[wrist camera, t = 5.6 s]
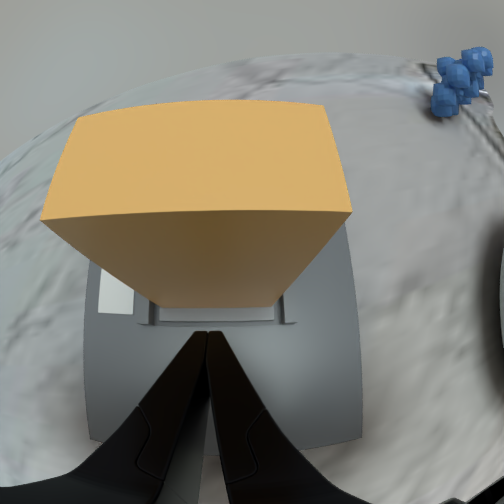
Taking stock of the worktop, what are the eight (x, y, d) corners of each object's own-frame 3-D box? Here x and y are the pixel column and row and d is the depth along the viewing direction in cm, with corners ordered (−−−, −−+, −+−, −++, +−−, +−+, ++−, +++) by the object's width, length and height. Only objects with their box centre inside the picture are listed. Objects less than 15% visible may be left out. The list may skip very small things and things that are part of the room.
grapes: (435, 87, 27) (469, 30, 16) (468, 120, 25) (509, 66, 14) (396, 94, 24) (436, 16, 13) (438, 135, 22) (492, 60, 11)
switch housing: (344, 427, 13) (370, 442, 10) (108, 428, 12) (81, 443, 9) (316, 162, 19) (329, 129, 16) (126, 164, 18) (112, 133, 15)
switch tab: (273, 320, 12) (365, 249, 4) (161, 321, 12) (28, 254, 3) (269, 246, 14) (322, 89, 5) (164, 248, 13) (83, 100, 4)
